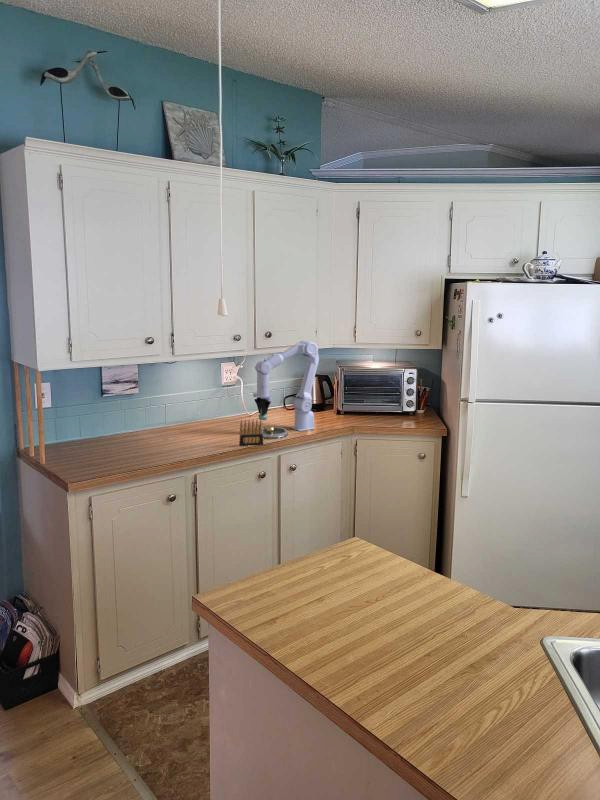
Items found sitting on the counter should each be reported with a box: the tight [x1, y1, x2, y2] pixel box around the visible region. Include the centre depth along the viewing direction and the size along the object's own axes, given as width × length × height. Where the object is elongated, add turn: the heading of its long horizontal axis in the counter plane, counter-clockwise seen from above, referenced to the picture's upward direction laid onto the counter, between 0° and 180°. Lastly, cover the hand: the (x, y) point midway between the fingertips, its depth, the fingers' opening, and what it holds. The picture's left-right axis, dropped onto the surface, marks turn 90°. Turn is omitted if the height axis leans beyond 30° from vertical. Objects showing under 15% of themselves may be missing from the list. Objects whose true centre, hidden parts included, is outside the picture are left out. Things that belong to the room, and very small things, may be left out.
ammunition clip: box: [238, 418, 264, 447], centre depth 295 cm, size 11×2×12 cm, turn 106°
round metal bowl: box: [262, 426, 289, 440], centre depth 315 cm, size 17×17×4 cm
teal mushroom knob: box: [258, 409, 268, 421], centre depth 316 cm, size 4×4×5 cm
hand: (262, 413), depth 316 cm, fingers closed on teal mushroom knob, 2 cm apart
